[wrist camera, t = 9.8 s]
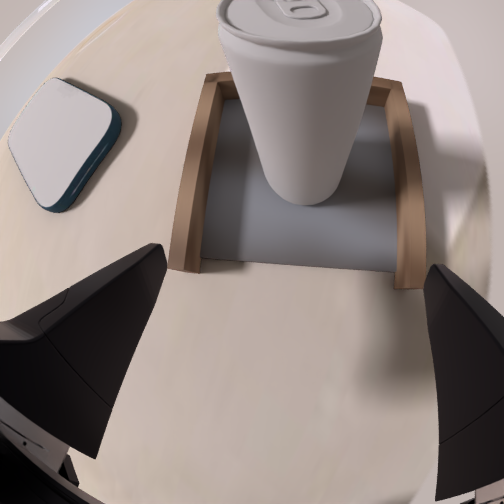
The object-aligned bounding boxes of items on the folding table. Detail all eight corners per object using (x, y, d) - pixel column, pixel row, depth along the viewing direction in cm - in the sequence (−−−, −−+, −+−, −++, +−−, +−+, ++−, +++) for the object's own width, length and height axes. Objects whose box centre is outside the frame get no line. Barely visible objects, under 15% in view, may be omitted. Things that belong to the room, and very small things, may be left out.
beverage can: (328, 134, 17) (343, -28, 5) (350, 200, 16) (420, 45, 4) (258, 148, 17) (204, -11, 6) (274, 216, 16) (220, 63, 5)
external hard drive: (13, 144, 26) (4, 139, 24) (58, 80, 26) (51, 73, 24) (63, 228, 20) (48, 223, 18) (137, 123, 20) (126, 111, 19)
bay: (408, 289, 15) (425, 288, 12) (184, 272, 17) (167, 268, 15) (393, 102, 17) (401, 82, 14) (215, 94, 19) (206, 74, 17)
